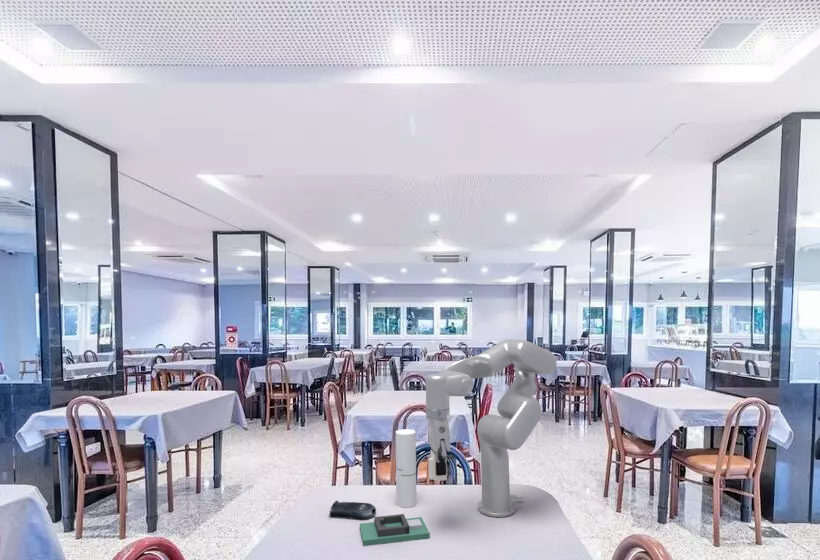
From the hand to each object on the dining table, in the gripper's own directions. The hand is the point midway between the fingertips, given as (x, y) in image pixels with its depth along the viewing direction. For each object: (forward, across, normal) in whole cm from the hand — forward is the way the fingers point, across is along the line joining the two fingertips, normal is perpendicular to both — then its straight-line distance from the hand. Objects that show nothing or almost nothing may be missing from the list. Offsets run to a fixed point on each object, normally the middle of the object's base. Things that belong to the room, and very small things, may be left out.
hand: (438, 471), depth 143 cm
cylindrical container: (+18, +21, +6) cm, 28 cm away
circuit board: (+17, 0, +14) cm, 23 cm away
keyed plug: (+2, 0, 0) cm, 2 cm away
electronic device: (+18, +17, +25) cm, 35 cm away
